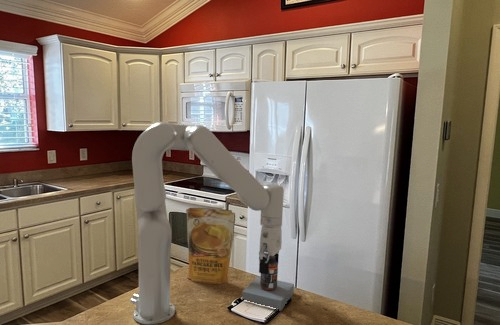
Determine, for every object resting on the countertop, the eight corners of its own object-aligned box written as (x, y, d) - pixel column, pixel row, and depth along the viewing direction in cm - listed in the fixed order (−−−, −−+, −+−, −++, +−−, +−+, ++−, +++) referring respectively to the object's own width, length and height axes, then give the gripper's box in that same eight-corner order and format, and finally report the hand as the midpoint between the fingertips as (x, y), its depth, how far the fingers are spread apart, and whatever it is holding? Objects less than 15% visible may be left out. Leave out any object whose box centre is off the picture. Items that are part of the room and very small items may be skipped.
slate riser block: (242, 301, 116) (242, 291, 115) (258, 284, 128) (258, 276, 128) (280, 311, 110) (281, 300, 109) (293, 293, 122) (294, 283, 122)
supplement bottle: (275, 292, 115) (277, 260, 114) (258, 290, 117) (259, 258, 116) (278, 284, 121) (279, 254, 120) (261, 282, 122) (262, 252, 121)
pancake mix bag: (188, 273, 136) (189, 205, 134) (234, 278, 133) (236, 209, 131) (182, 280, 130) (182, 209, 127) (230, 286, 127) (232, 213, 124)
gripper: (272, 228, 107) (270, 280, 109) (289, 216, 123) (286, 262, 124) (251, 224, 110) (248, 275, 112) (270, 214, 126) (267, 258, 127)
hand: (268, 268), depth 118 cm, fingers open, 9 cm apart
